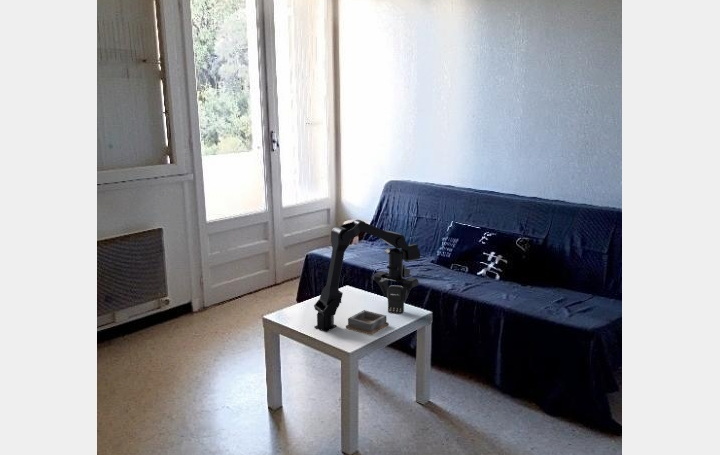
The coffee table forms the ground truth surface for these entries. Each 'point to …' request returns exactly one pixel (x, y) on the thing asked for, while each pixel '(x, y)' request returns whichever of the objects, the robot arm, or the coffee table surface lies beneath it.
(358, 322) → the dock
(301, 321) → the coffee table surface
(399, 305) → the battery charger
